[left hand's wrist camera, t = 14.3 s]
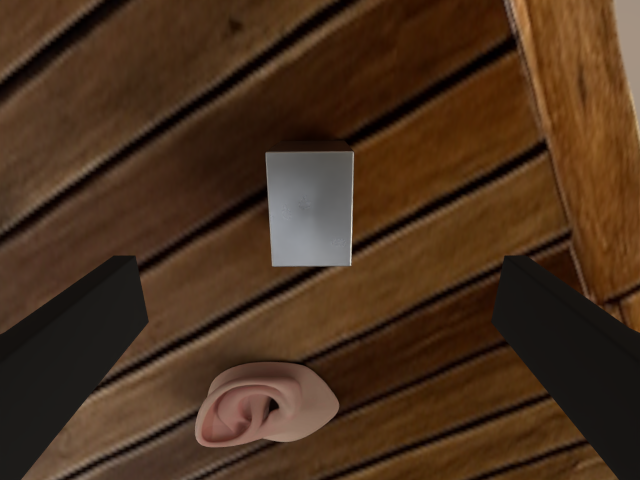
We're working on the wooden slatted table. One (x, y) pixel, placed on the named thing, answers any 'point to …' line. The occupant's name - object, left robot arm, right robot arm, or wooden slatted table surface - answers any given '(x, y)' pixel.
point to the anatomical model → (264, 405)
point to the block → (310, 203)
